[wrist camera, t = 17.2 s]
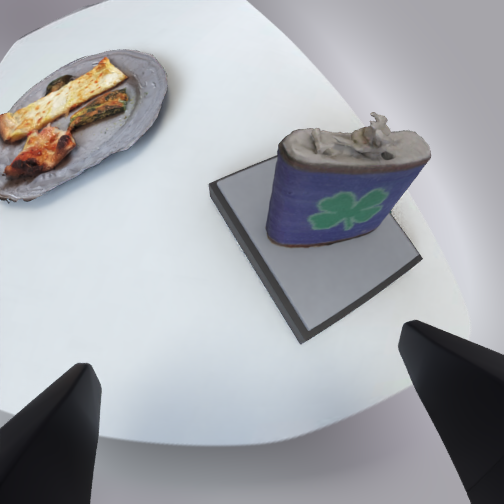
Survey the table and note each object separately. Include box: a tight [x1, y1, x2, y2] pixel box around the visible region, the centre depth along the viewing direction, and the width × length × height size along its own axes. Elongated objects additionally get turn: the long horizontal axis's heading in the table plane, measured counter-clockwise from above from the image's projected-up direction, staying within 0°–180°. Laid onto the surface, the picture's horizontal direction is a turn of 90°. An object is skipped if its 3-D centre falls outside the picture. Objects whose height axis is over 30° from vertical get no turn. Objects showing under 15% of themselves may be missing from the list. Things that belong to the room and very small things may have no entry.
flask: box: [265, 112, 431, 248], centre depth 17 cm, size 9×3×11 cm, turn 101°
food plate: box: [0, 49, 168, 203], centre depth 28 cm, size 25×23×4 cm
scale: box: [209, 155, 423, 344], centre depth 24 cm, size 14×12×2 cm
